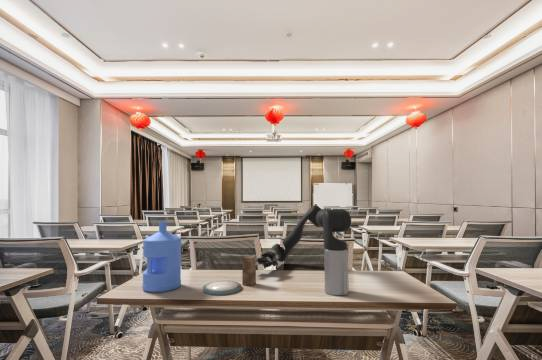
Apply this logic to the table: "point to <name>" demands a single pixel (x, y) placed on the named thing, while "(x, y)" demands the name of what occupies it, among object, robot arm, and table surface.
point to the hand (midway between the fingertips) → (257, 264)
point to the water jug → (162, 261)
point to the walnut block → (249, 270)
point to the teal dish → (221, 288)
